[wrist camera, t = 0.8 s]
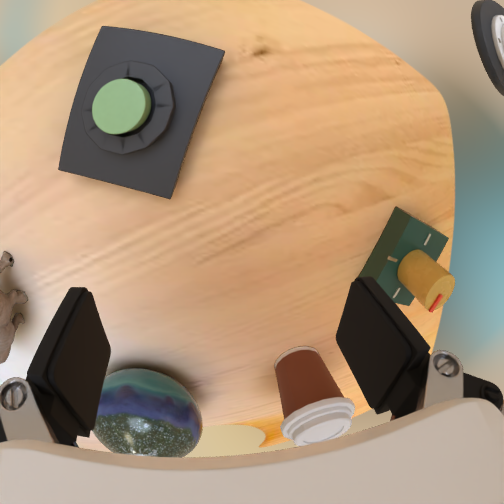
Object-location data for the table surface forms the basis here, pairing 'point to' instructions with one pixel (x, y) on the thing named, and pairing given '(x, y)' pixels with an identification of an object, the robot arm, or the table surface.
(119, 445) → the vase
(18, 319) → the rhinoceros figurine
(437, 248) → the panel
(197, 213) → the table surface
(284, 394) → the coffee cup
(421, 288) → the knob
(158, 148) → the button base
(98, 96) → the green short cylinder
